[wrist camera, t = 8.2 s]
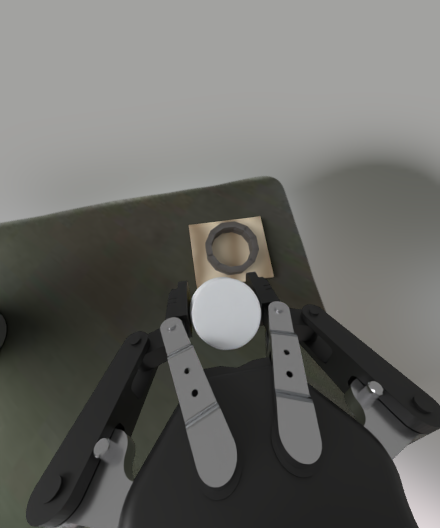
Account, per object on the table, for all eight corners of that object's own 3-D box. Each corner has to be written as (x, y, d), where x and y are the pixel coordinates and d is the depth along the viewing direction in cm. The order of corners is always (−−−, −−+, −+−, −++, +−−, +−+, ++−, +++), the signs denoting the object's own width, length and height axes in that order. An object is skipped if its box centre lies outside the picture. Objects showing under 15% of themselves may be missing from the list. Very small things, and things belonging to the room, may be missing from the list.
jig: (197, 289, 32) (196, 287, 28) (189, 228, 34) (187, 218, 30) (271, 277, 33) (279, 274, 29) (258, 219, 35) (264, 209, 32)
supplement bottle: (185, 309, 18) (165, 314, 10) (216, 275, 19) (222, 254, 10) (220, 342, 17) (231, 378, 9) (250, 306, 18) (284, 308, 10)
